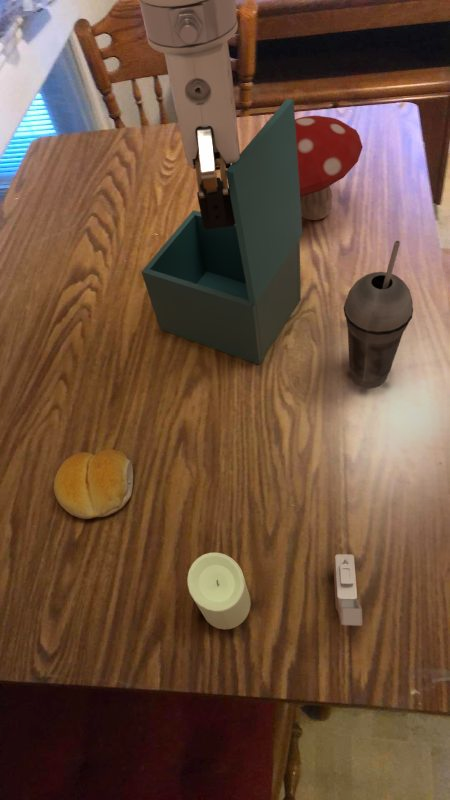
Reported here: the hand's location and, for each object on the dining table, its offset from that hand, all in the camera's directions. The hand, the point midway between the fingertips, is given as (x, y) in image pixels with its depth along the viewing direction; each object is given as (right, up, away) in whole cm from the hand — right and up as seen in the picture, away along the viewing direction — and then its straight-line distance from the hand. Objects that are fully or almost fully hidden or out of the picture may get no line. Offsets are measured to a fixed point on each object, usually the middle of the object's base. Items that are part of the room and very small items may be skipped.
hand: (218, 195), depth 59 cm
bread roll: (-14, -32, +7) cm, 35 cm away
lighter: (+12, -42, -4) cm, 44 cm away
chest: (+1, -10, +19) cm, 22 cm away
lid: (+5, -1, +1) cm, 5 cm away
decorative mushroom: (+13, +8, +30) cm, 33 cm away
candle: (+1, -42, -3) cm, 42 cm away
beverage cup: (+19, -18, +11) cm, 28 cm away
